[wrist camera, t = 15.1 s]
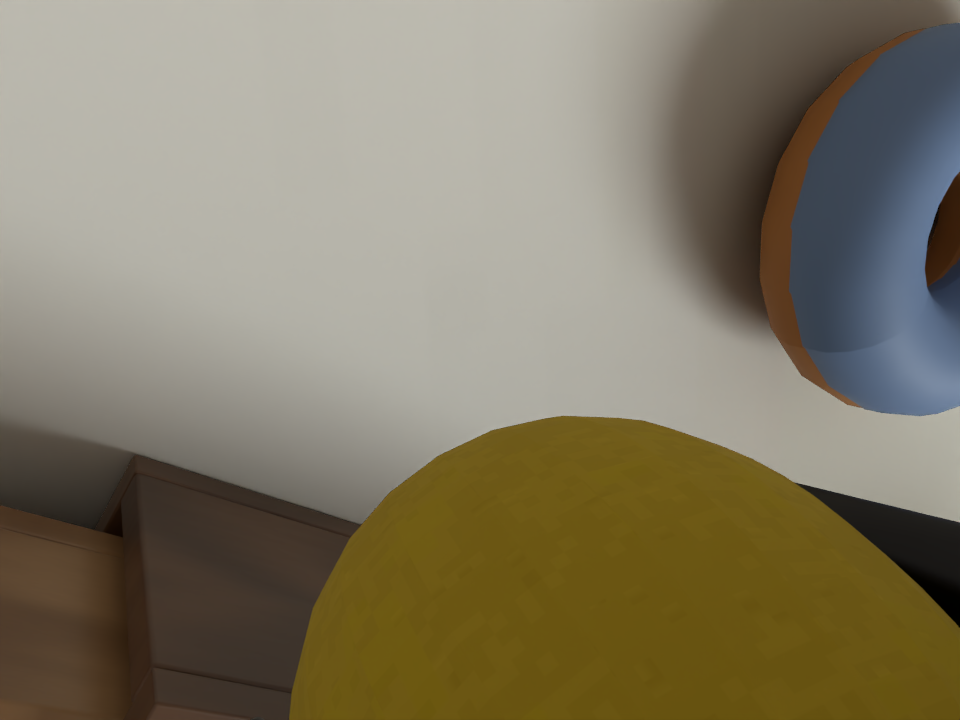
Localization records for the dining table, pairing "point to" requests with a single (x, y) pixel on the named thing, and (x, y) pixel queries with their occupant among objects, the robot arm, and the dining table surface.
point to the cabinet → (216, 592)
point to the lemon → (618, 593)
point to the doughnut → (873, 231)
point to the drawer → (61, 621)
